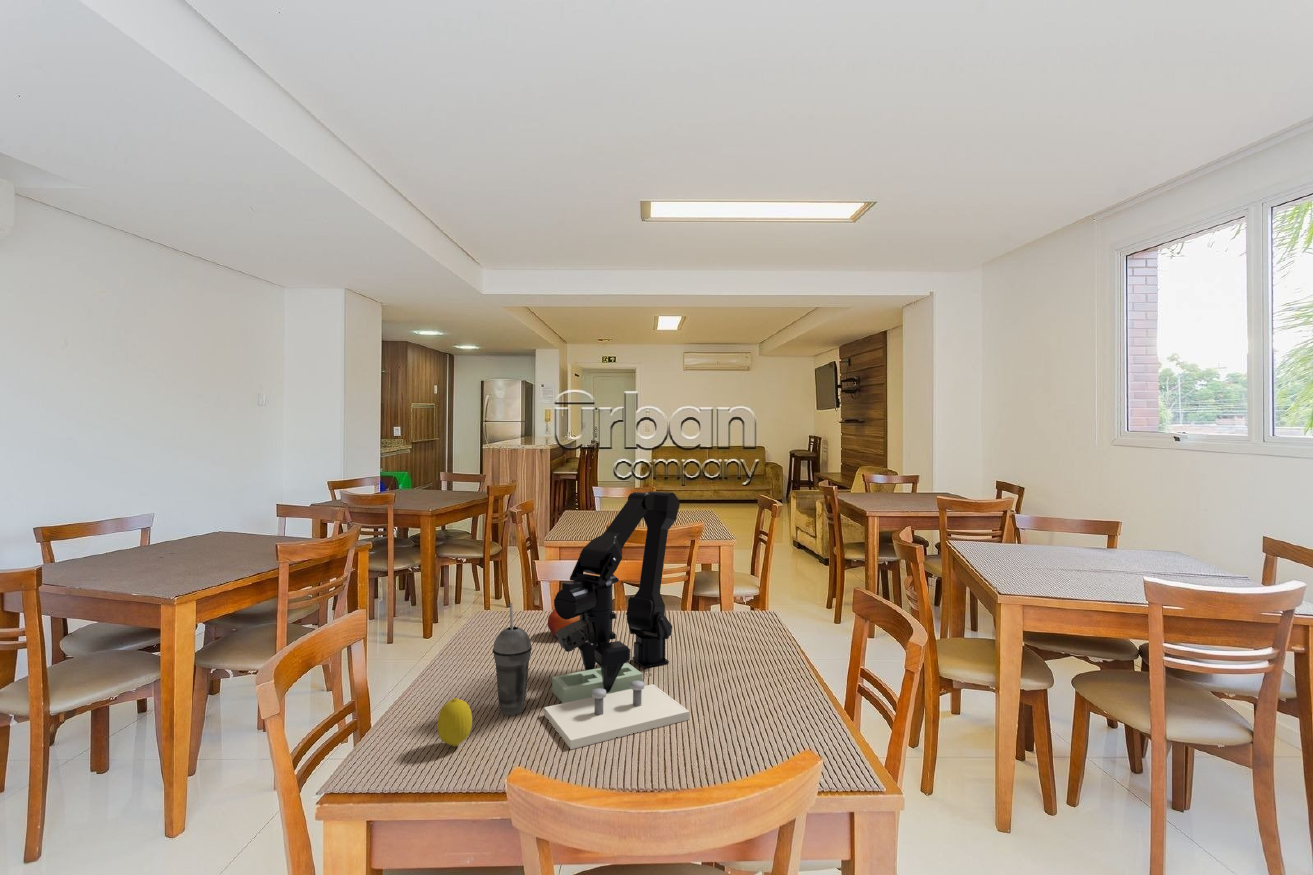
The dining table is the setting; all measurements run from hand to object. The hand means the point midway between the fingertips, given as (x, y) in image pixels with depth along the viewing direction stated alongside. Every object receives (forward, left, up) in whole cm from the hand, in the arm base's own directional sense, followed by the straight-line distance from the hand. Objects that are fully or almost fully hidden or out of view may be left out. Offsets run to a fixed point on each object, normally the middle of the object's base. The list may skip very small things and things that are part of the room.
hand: (597, 683), depth 123 cm
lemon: (+30, +10, -1) cm, 32 cm away
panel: (0, 0, -1) cm, 1 cm away
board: (+2, +13, -1) cm, 13 cm away
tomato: (-6, -36, -2) cm, 37 cm away
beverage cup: (+18, +1, -1) cm, 18 cm away
